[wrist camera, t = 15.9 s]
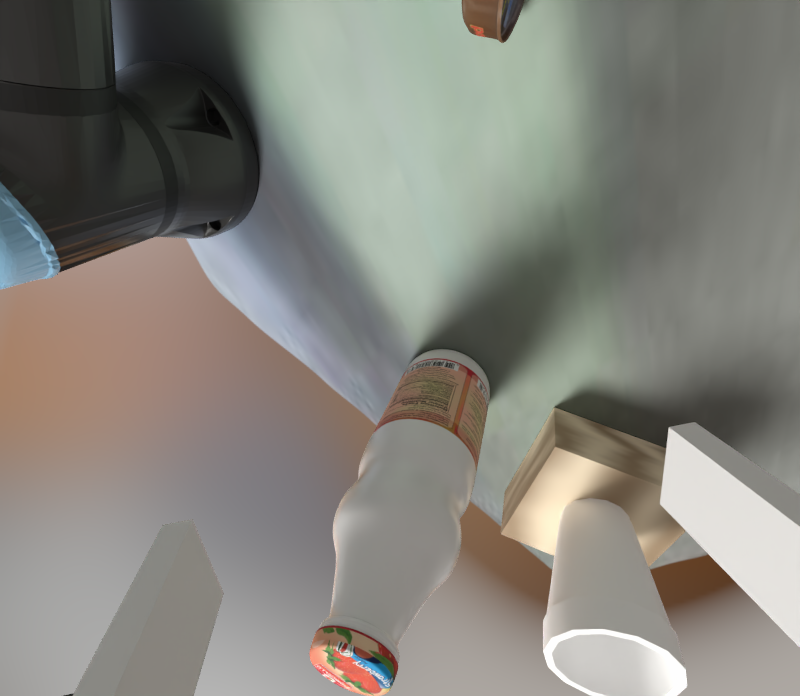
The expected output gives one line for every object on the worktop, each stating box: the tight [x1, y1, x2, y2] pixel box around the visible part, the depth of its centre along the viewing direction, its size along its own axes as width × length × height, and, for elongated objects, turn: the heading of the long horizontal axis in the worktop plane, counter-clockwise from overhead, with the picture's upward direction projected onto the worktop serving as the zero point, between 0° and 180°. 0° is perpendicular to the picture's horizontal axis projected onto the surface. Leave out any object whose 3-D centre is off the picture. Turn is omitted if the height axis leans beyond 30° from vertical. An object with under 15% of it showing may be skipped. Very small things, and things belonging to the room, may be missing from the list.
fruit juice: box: [310, 349, 490, 696], centre depth 35 cm, size 9×9×28 cm
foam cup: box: [543, 498, 687, 696], centre depth 36 cm, size 10×9×13 cm
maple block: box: [501, 407, 686, 567], centre depth 44 cm, size 14×14×6 cm
